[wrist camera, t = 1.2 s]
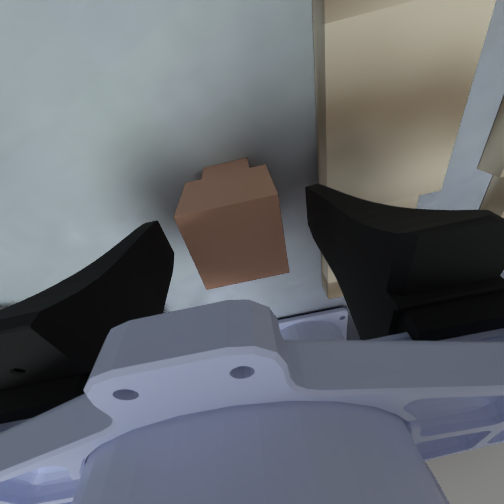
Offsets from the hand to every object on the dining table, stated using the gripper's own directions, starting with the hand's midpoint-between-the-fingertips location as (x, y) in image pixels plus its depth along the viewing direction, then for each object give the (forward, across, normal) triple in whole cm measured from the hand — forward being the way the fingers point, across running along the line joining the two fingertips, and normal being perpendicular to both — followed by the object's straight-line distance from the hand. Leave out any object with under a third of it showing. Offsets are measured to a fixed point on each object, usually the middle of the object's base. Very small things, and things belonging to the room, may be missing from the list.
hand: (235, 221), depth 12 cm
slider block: (+3, 0, 0) cm, 3 cm away
